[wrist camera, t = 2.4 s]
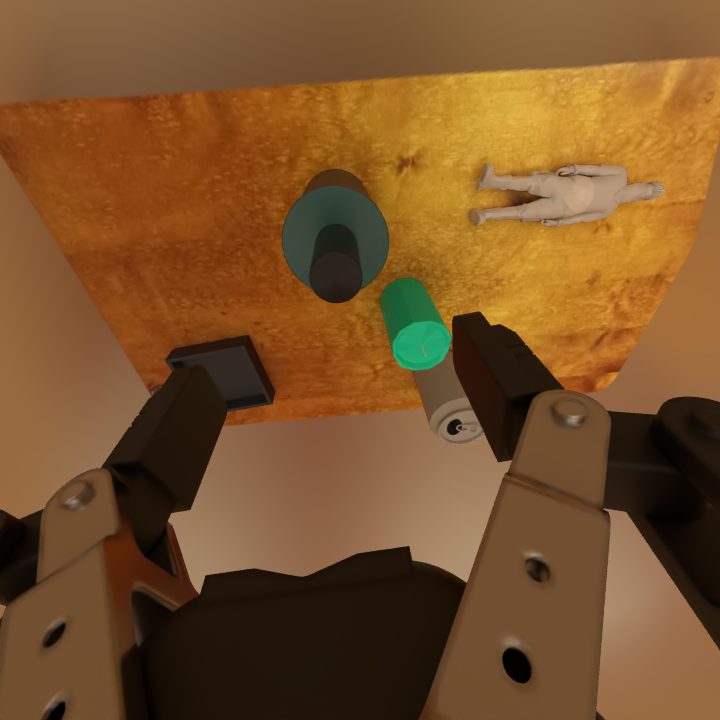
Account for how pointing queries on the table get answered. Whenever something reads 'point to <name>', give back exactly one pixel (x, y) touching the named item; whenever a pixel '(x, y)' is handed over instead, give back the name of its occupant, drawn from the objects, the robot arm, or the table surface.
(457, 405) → the can
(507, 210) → the figurine
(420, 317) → the candle
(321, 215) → the pan lid
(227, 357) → the square tray
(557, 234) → the table surface
